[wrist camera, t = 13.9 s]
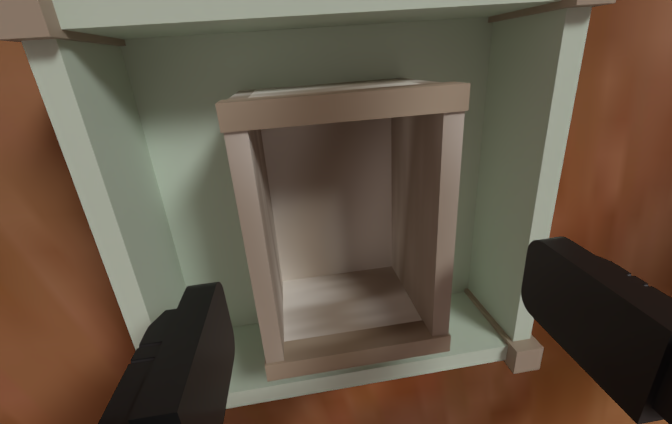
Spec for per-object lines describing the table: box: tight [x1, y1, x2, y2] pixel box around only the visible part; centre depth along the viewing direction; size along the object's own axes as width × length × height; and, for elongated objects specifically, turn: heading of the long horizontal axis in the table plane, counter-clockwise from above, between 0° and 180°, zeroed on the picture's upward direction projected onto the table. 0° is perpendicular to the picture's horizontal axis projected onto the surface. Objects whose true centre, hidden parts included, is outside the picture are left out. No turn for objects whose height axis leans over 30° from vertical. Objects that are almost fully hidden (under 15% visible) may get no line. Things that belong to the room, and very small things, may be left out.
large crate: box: [0, 0, 616, 409], centre depth 14 cm, size 16×15×5 cm
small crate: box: [215, 78, 471, 382], centre depth 13 cm, size 6×9×6 cm
